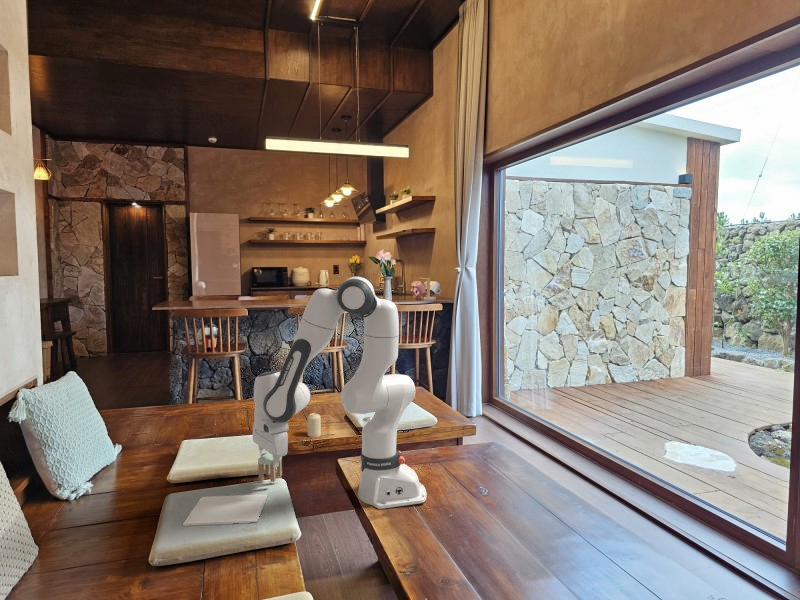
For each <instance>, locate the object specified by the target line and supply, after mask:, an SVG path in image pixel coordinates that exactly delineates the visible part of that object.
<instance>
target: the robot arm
mask: <svg viewBox="0 0 800 600" xmlns="http://www.w3.org/2000/svg"><path fill="white" fill-rule="evenodd" d="M344 312H346V313H348V314H349V315H353V316H356V317H359V318H361V319H363V323H364V325H363V326H364V329H363V345H362V346H363V347H362V355H361V361H360V363H359V365H358V367H357V369H356V371H355V373H354V375H353V376H352V377H351V378H350V380H349V381H347V382H346V383H345V384H344V386H343V387H342V389H341V392H340V401H341V405H342V407H343V408H344V409H345V411H346V412H348V413H349V414H354V415H356V414H357V415H358V414H359V415H366V414H371V413H374V415H373V416H372V417H373V418H372V419H371V420H370V421H369V422H368V423H367V424H366V425H365V426H364V428H363V430H362V429H361V430H362V431H361V452H360V457H359V458H360V461H359V462H360V463H359V464H360V465H359V466H360V471H361V474H360V481H359V486H358V491H357V498H358V499H359V500H360V501H362V502H363V503H365V504H367V505H371V506H373V507H374V508H376V509H379V510H380V509H381V510H382V509H388V508H396V507H405V506H410V505H417V504H423V503H424V502H425V501H427V497H428V496H427V495H428V493H427V489H426V487H425V486H424V485H423V483H421V482H420V480H419V476H418V474H417V472H416V471H415V470H414V469H413V468H412V467H410V466H408V465H407V464H405V462H406V459H405V457H404V456H403V454H402V452H401V451H400V450H397V439H398V438H397V436H398V435H397V434H398V427H399V424H400V421H401V418H402V417H403V414H404V412H405V410H406V409H407V408H408V406H409V405H410V404H411V403H412V402H413V401H414V399H415V396H416V385H415V383H414V381H413V379H412V378H411V377H410V376H409V375H407V374H400V373H392V374H386V372H387V370H388V369H389V368H390V367H392V366H393V365H394V364H395V363H396V362H397V360H398V358H399V357H398V356H399V341H400V340H399V339H400V323H399V322H400V320H399V311H398V306H397V305H396V304H395V303H394V302H393V301H391V300H390V299H384V298H379V297H377V295H376V291H375V287H374V285H373V282H371V280H370V279H369V278H367V277H365V276H360V275H357V276H351V277H348V278H346V279H345V280H344V281H343V282H342V283H341V284H340V285H339V287H338V288H337V289H330V288H325V287H324V288H318V289H316V290H315V291H314V292H313V293H312V295H311V297H310V299H309V300H308V302H307V304H306V306H305V308H304V311H303V314H302V317H301V320H300V321H299V325H298V329H297V332H296V334H295V337H294V340H293V342H292V345H291V347H290V349H289V352H288V353H287V356H286V359H285V361H284V363H283V365H282V368H281V371H278V370H270V371H266V372H265V371H264V372H262V373H260V374H258V375H257V376H256V377H255V380H254V384H253V402H254V405H255V406H254V411H253V413H254V414H253V415H254V418H253V420H254V422H253V423H252V441H253V443H254V444H256V445H257V446H258V451H259V455H260V456H259V457H262V456H263V455H265V454H266V453H270V454H272V456H273V461H272V466H273V467H274V468H275V469H277V467H278V466H279V460H280V457H282V458H283V457H285V456H287V454H288V445H289V439H288V438H289V436H288V432H287V431H289V429H290V428H289V423H288V421H289V420H291V418H293V417H294V416H295V415H296V414H298V413H300V411H302V410H304V409H305V408H306V407H307V406H309V403H310V402H311V397H312V396H311V395H312V394H311V391H310V388H309V387H308V385H307V384H305V383H304V382H303V381H301V379H302V377H303V375H304V372H305V370H306V368H307V367H308V365H309V363H311V361H312V360H313V359H314V358H315V357H316V356H317V355H318V354H320V353H321V352H322V351H324V350H325V349H326V348H327V347H328V345H329V343H330V342H331V340H332V338H333V337H334V333H335V331H336V327H337V325H338V323H339V319H340V318H341V316H342V314H344Z"/></svg>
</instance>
